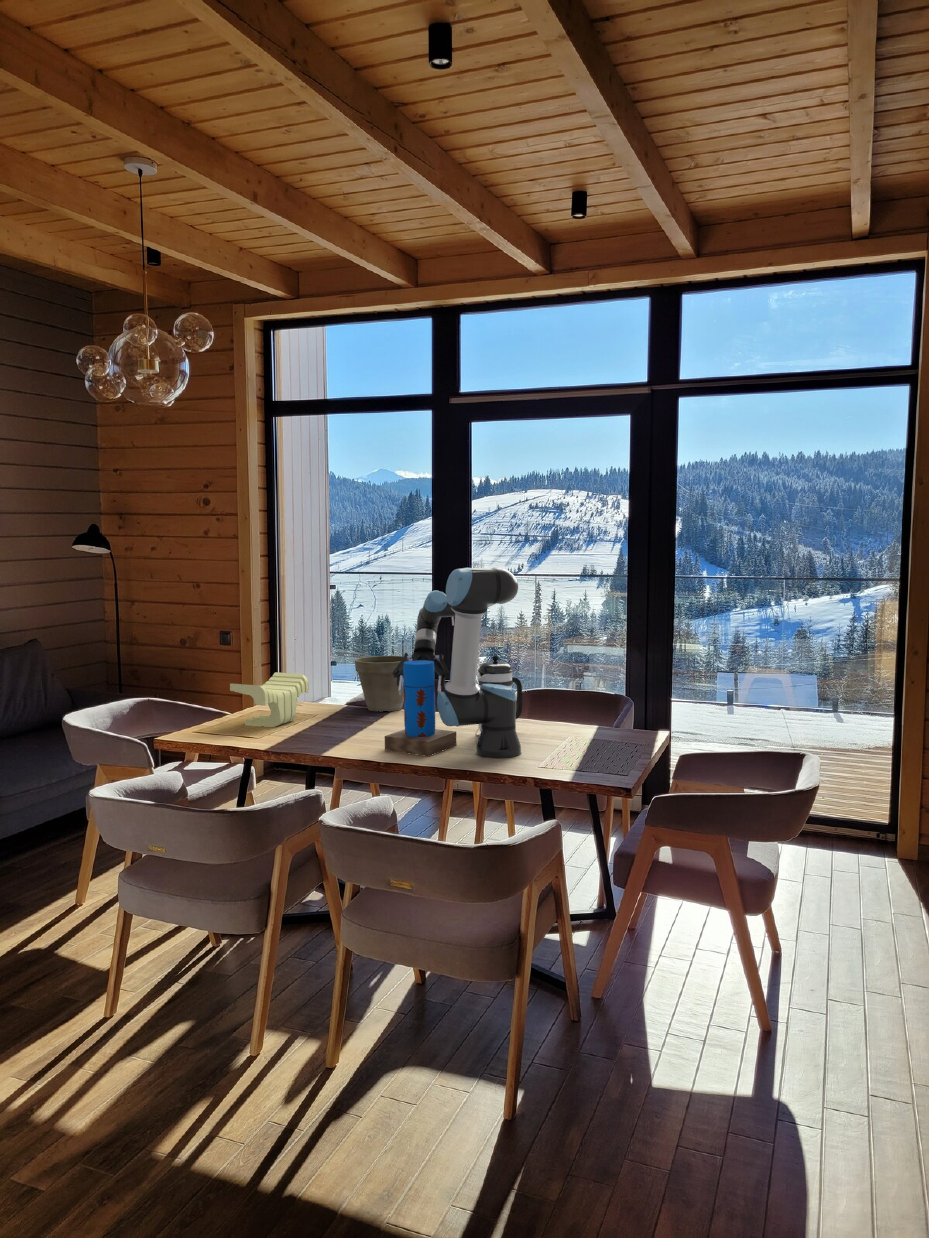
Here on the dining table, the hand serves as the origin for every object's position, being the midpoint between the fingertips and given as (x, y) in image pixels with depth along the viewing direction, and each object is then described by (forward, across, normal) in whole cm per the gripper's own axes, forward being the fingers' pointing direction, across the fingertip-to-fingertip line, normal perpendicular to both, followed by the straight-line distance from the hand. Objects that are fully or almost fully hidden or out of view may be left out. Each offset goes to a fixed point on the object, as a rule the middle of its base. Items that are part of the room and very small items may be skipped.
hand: (419, 693), depth 314 cm
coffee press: (-2, -25, -30) cm, 40 cm away
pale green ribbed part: (-14, +65, -42) cm, 79 cm away
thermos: (+9, 0, -12) cm, 15 cm away
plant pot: (-36, +26, -65) cm, 79 cm away
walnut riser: (+12, 0, -15) cm, 20 cm away
